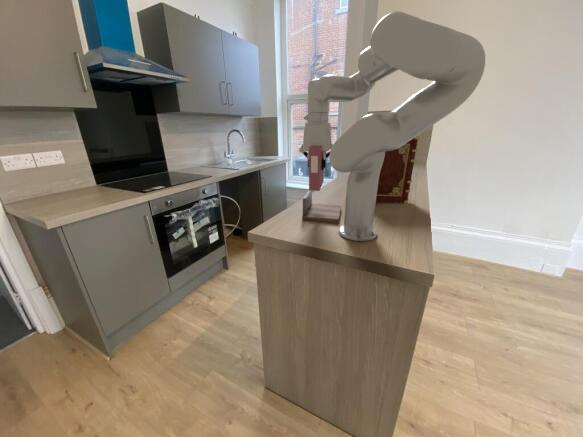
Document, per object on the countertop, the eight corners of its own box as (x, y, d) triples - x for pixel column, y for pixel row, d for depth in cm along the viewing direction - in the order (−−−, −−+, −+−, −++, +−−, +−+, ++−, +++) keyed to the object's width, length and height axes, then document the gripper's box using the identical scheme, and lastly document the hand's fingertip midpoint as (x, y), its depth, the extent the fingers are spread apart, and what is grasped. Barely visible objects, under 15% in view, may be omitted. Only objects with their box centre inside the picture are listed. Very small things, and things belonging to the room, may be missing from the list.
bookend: (305, 215, 94) (305, 198, 92) (302, 215, 95) (302, 198, 92) (311, 204, 107) (312, 189, 104) (309, 204, 107) (309, 189, 105)
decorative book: (404, 198, 119) (415, 134, 108) (410, 203, 112) (422, 135, 101) (358, 198, 121) (363, 135, 110) (360, 203, 114) (367, 136, 103)
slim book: (319, 191, 91) (320, 147, 84) (308, 190, 92) (308, 147, 85) (323, 181, 102) (324, 142, 95) (314, 181, 103) (314, 142, 96)
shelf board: (338, 223, 91) (338, 219, 91) (302, 221, 95) (302, 216, 94) (341, 209, 106) (341, 205, 105) (309, 207, 109) (309, 203, 108)
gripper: (293, 119, 86) (293, 170, 92) (340, 118, 82) (337, 172, 89) (297, 119, 92) (297, 167, 99) (342, 118, 88) (339, 168, 95)
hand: (316, 169), depth 94 cm, fingers closed on slim book, 4 cm apart
